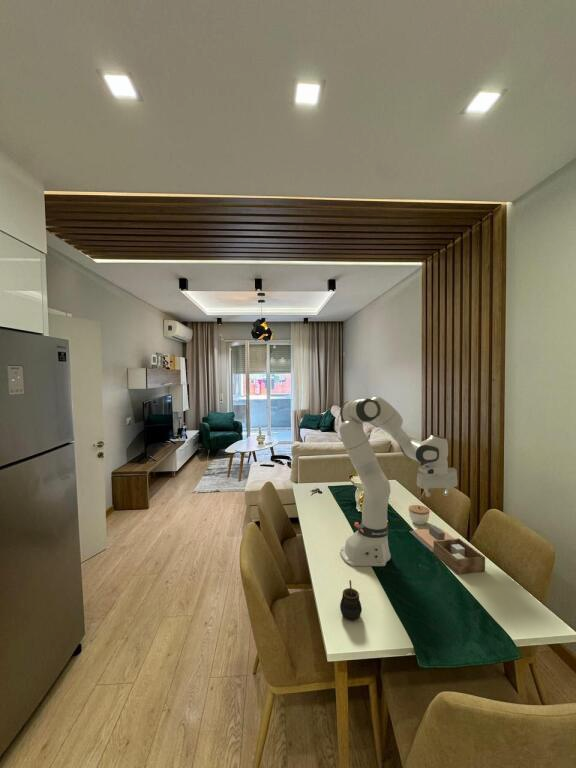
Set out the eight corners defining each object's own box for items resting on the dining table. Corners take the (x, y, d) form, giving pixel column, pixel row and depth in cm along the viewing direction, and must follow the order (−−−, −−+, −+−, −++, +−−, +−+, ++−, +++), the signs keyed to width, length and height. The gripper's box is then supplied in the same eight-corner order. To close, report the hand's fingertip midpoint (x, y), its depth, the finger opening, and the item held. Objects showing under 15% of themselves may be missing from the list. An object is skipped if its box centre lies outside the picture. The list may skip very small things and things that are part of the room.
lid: (433, 550, 153) (433, 539, 152) (412, 531, 170) (412, 522, 170) (462, 547, 155) (462, 536, 155) (439, 529, 173) (439, 520, 173)
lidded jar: (424, 518, 187) (425, 502, 187) (432, 527, 176) (432, 509, 176) (405, 518, 187) (406, 501, 187) (412, 526, 177) (412, 509, 176)
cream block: (457, 568, 138) (457, 559, 137) (451, 563, 142) (451, 554, 141) (465, 567, 138) (465, 558, 138) (459, 562, 142) (459, 553, 142)
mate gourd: (342, 624, 108) (342, 594, 108) (338, 608, 116) (337, 580, 116) (364, 623, 109) (363, 593, 109) (358, 607, 116) (357, 579, 116)
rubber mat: (432, 552, 152) (432, 551, 152) (409, 531, 171) (409, 531, 171) (467, 548, 155) (467, 548, 155) (440, 529, 174) (440, 528, 174)
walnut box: (456, 574, 135) (457, 560, 135) (433, 553, 151) (433, 540, 150) (484, 571, 137) (485, 557, 137) (458, 551, 153) (459, 538, 153)
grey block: (456, 558, 145) (456, 549, 145) (450, 553, 149) (450, 544, 149) (464, 557, 146) (464, 548, 146) (458, 552, 150) (458, 544, 150)
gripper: (452, 465, 166) (451, 492, 167) (415, 467, 163) (414, 494, 164) (461, 469, 160) (460, 497, 161) (422, 471, 157) (421, 499, 157)
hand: (436, 496), depth 162 cm, fingers open, 8 cm apart
